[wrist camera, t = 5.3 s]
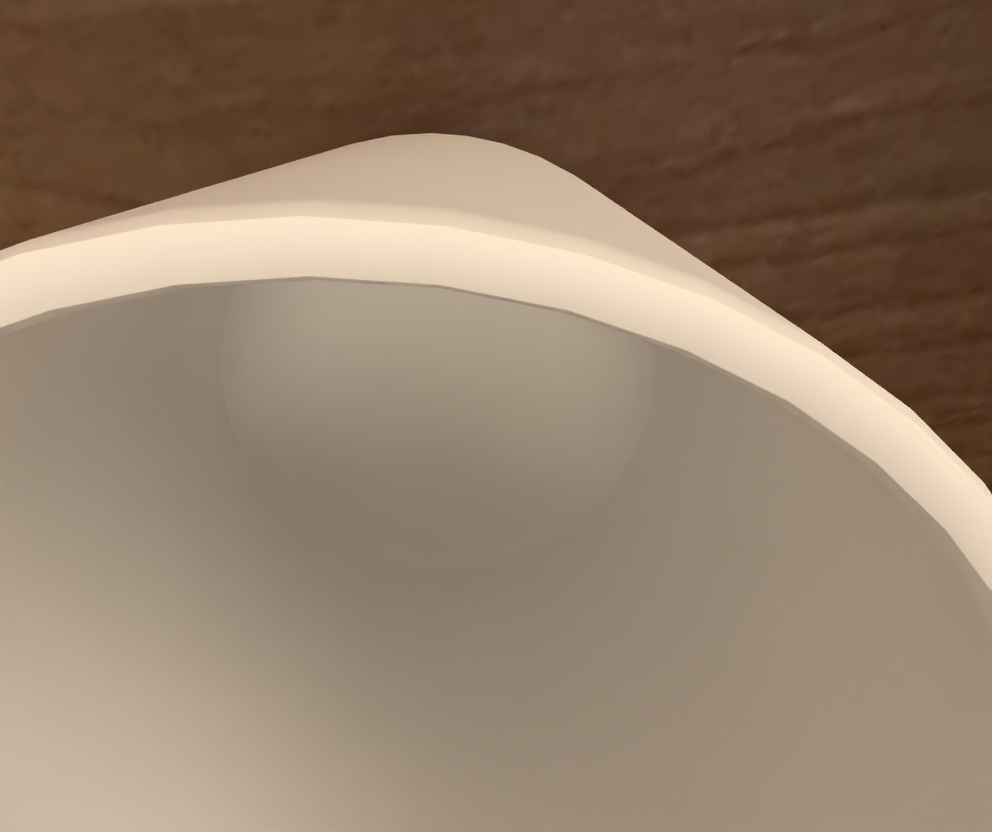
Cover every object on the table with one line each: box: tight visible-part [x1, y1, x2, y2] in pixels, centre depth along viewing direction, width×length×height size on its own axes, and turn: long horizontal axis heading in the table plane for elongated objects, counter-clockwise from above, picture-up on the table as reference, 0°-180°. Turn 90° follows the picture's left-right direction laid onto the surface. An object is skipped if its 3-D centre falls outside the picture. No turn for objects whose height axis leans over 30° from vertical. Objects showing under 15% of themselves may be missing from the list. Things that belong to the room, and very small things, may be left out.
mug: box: [0, 133, 992, 832], centre depth 10 cm, size 12×8×10 cm
